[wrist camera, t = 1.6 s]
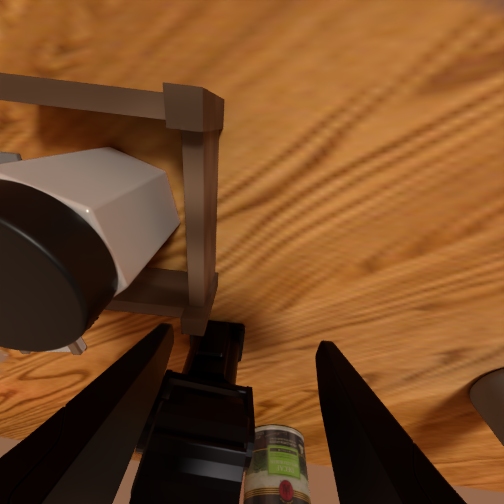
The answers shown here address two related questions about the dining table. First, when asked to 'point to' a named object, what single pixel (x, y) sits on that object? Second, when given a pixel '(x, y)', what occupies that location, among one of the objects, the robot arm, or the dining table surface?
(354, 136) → the dining table surface
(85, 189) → the jar
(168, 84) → the brown u-shaped frame
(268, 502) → the coffee can
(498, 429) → the water bottle
